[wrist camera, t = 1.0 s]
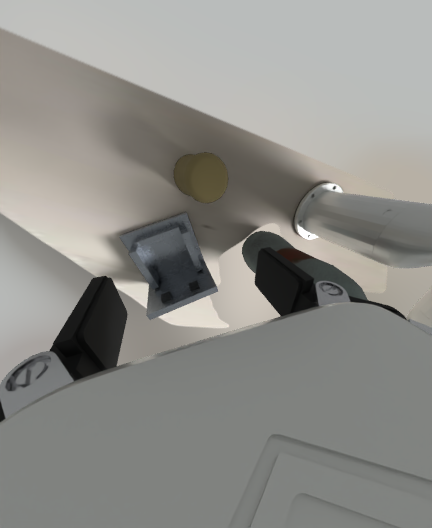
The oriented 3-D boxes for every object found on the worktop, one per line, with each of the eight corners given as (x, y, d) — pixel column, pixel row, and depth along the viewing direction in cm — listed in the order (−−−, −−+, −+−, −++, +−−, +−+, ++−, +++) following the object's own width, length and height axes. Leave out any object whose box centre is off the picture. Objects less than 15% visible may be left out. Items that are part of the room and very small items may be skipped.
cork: (166, 163, 24) (170, 160, 15) (201, 147, 25) (226, 135, 16) (184, 201, 28) (196, 217, 19) (214, 187, 28) (241, 196, 19)
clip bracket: (186, 211, 29) (196, 229, 20) (205, 264, 35) (218, 292, 27) (120, 234, 27) (103, 263, 19) (153, 284, 34) (151, 321, 26)
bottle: (267, 219, 34) (536, 345, 10) (279, 249, 40) (473, 379, 15) (232, 244, 35) (404, 423, 10) (248, 270, 40) (388, 430, 16)
